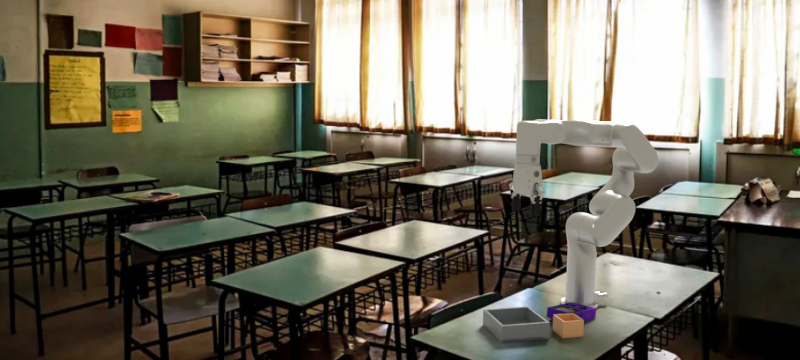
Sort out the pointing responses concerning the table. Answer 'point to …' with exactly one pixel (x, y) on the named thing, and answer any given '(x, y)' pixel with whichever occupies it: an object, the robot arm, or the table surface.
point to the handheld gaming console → (572, 310)
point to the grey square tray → (516, 324)
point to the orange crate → (568, 325)
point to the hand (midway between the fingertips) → (525, 213)
